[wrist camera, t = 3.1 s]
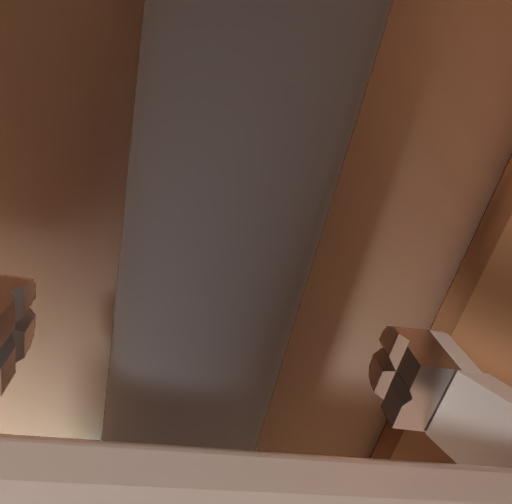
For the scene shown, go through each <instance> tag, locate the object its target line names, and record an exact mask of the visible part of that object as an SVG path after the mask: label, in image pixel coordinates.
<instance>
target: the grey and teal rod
mask: <svg viewBox="0 0 512 504" xmlns="http://www.w3.org/2000/svg"><path fill="white" fill-rule="evenodd" d="M392 2H393V0H144V10H143V21H142V31H141V41H140V51H139V62H138V72H137V82H136V92H135V103H134V113H133V123H132V134H131V144H130V154H129V164H128V175H127V185H126V195H125V206H124V216H123V226H122V236H121V247H120V257H119V267H118V278H117V288H116V298H115V308H114V319H113V329H112V339H111V350H110V360H109V370H108V380H107V391H106V401H105V411H104V421H103V432H102V435H101V439H100V440H101V441H116V442H131V443H146V444H161V445H176V446H191V447H206V448H221V449H236V450H251V451H255V449H256V446H257V442H258V439H259V436H260V433H261V429H262V426H263V423H264V419H265V416H266V413H267V410H268V406H269V403H270V400H271V397H272V393H273V390H274V387H275V384H276V380H277V377H278V374H279V371H280V367H281V364H282V361H283V358H284V354H285V351H286V348H287V344H288V341H289V338H290V335H291V331H292V328H293V325H294V322H295V318H296V315H297V312H298V309H299V305H300V302H301V299H302V296H303V292H304V289H305V286H306V283H307V279H308V276H309V273H310V269H311V266H312V263H313V260H314V256H315V253H316V250H317V247H318V243H319V240H320V237H321V234H322V230H323V227H324V224H325V221H326V217H327V214H328V211H329V208H330V204H331V201H332V198H333V195H334V191H335V188H336V185H337V181H338V178H339V175H340V172H341V168H342V165H343V162H344V159H345V155H346V152H347V149H348V146H349V142H350V139H351V136H352V133H353V129H354V126H355V123H356V120H357V116H358V113H359V110H360V106H361V103H362V100H363V97H364V93H365V90H366V87H367V84H368V80H369V77H370V74H371V71H372V67H373V64H374V61H375V58H376V54H377V51H378V48H379V45H380V41H381V38H382V35H383V31H384V28H385V25H386V22H387V18H388V15H389V12H390V9H391V5H392Z"/></svg>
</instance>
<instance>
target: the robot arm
mask: <svg viewBox="0 0 512 504" xmlns="http://www.w3.org/2000/svg"><path fill="white" fill-rule="evenodd" d="M35 298H36V283H35V281H34V279H31V278H25V277H18V276H11V275H4V274H0V396H2V394H3V393H4V391H5V389H6V388H7V386H8V384H9V383H10V381H11V379H12V378H13V376H14V374H15V373H16V362H17V361H19V360H21V359H23V358H25V356H26V354H27V352H28V351H29V349H30V346H31V343H32V340H33V337H34V332H35V325H36V315H35V313H34V312H33V311H32V309H31V308H30V305H31V304H32V302H33V301H34V300H35ZM379 341H380V343H381V346H382V348H381V349H379V350H378V351H377V352H376V353H374V354H373V356H372V359H371V362H370V365H369V380H370V385H371V387H372V389H373V391H374V393H376V394H377V395H378V396H379V397H381V398H382V399H383V402H382V405H381V407H382V409H383V411H384V413H385V415H386V417H387V419H388V421H389V423H390V425H391V427H392V428H395V429H404V430H413V431H422V432H426V433H425V434H426V435H427V436H428V437H429V438H430V439H432V440H433V441H434V442H435V443H436V444H437V445H438V446H439V447H440V448H441V449H442V450H443V451H444V452H445V453H446V454H447V455H448V456H449V457H450V458H451V459H452V460H454V461H455V462H456V463H457V464H447V463H432V462H417V461H401V460H386V459H371V458H356V457H341V456H326V455H311V454H296V453H281V452H266V451H251V450H236V449H221V448H206V447H191V446H176V445H161V444H146V443H131V442H116V441H101V440H86V439H71V438H56V437H41V436H26V435H11V434H0V504H512V387H510V386H508V385H507V384H505V383H503V382H502V381H500V380H498V379H496V378H495V377H493V376H491V375H490V374H485V373H482V371H481V370H480V369H479V368H478V367H477V366H476V365H475V363H474V362H473V361H472V360H471V359H470V358H469V357H468V355H467V354H466V353H465V352H464V351H463V350H462V349H461V347H460V346H459V345H458V344H457V343H456V342H455V341H454V339H453V338H452V337H451V336H450V335H449V334H448V333H445V332H443V331H434V330H423V329H413V328H404V327H394V326H387V327H386V328H385V329H384V330H383V332H382V334H381V337H380V339H379Z"/></svg>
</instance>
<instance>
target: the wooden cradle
mask: <svg viewBox="0 0 512 504" xmlns="http://www.w3.org/2000/svg"><path fill="white" fill-rule="evenodd" d="M430 330H434V331H443V332H445V333H448V334H449V335H450V336H451V337H452V338H453V339H454V341H455V342H456V343H457V344H458V345H459V346H460V347H461V349H462V350H463V351H464V352H465V353H466V354H467V355H468V357H469V358H470V359H471V360H472V361H473V362H474V363H475V365H476V366H477V367H478V368H479V369H480V370H481V371H482V373H485V374H490V375H491V376H493V377H495V378H496V379H498V380H500V381H502V382H503V383H505V384H507V385H508V386H510V387H512V156H511V158H510V160H509V163H508V165H507V167H506V169H505V171H504V173H503V175H502V178H501V180H500V182H499V184H498V186H497V188H496V190H495V192H494V195H493V197H492V199H491V201H490V203H489V205H488V207H487V210H486V212H485V214H484V216H483V218H482V220H481V222H480V225H479V227H478V229H477V231H476V233H475V235H474V237H473V240H472V242H471V244H470V246H469V248H468V250H467V252H466V254H465V257H464V259H463V261H462V263H461V265H460V267H459V269H458V272H457V274H456V276H455V278H454V280H453V282H452V284H451V287H450V289H449V291H448V293H447V295H446V297H445V299H444V302H443V304H442V306H441V308H440V310H439V312H438V314H437V316H436V319H435V321H434V323H433V325H432V327H431V329H430ZM425 433H426V432H422V431H413V430H404V429H395V428H392V427H391V425H390V423H389V421H387V423H386V426H385V428H384V430H383V432H382V434H381V436H380V438H379V441H378V443H377V445H376V447H375V449H374V451H373V453H372V455H371V459H386V460H401V461H417V462H432V463H447V464H457V463H456V462H455V461H454V460H452V459H451V458H450V457H449V456H448V455H447V454H446V453H445V452H444V451H443V450H442V449H441V448H440V447H439V446H438V445H437V444H436V443H435V442H434V441H433V440H432V439H430V438H429V437H428V436H427V435H426V434H425Z"/></svg>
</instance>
